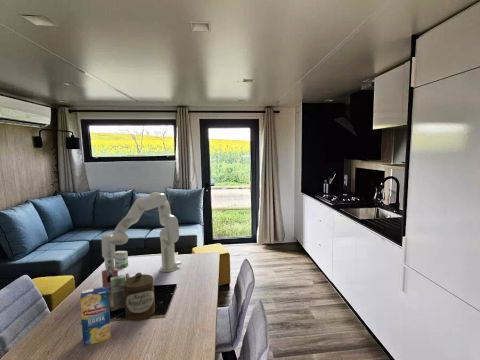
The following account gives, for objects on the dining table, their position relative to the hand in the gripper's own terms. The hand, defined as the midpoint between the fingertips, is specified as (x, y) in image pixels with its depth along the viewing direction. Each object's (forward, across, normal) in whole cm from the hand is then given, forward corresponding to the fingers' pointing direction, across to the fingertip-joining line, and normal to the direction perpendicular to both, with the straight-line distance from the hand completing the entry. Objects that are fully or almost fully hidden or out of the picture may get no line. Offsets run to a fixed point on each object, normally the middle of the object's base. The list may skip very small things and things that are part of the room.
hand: (109, 279), depth 169 cm
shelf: (+5, -20, -4) cm, 21 cm away
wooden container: (+5, -42, -12) cm, 44 cm away
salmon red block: (+5, 0, 0) cm, 5 cm away
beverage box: (+6, -53, +9) cm, 54 cm away
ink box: (+5, +33, -10) cm, 35 cm away
